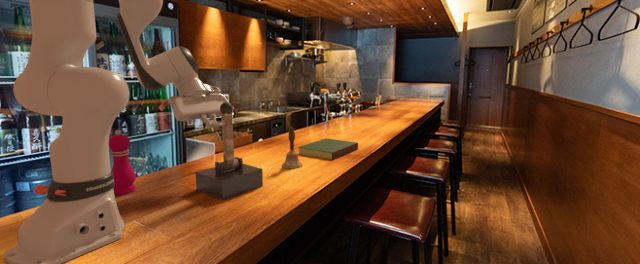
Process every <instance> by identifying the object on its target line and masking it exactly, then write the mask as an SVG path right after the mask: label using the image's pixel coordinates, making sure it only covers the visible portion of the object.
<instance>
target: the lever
mask: <svg viewBox="0 0 640 264" xmlns="http://www.w3.org/2000/svg"><path fill="white" fill-rule="evenodd" d="M220 111H221V116H220V117H221V133H222V154H223V156H222V157H223V161H222V162H221V161H220V163H223V170H224V171H227V170H230V169H234V168H238V167H239V161H238V159H234V157H235V148H234V147H235V145H234V126H233V124H234V122H233V121H234V120H233V111H234V106H233V105H232V103H230V102H229V103H228V102H225V103H223V104H222V105H221V106H220Z"/></svg>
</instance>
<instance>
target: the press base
mask: <svg viewBox="0 0 640 264" xmlns="http://www.w3.org/2000/svg"><path fill="white" fill-rule="evenodd" d="M234 159H238V161H239V167H238V168H234V169H230V170H227V171H224V170H223V163H220V162H221V161H220V162H219V161H215V162H214V166H213V167H210V168H205V169H202V170H198V171H195V186H196V191H198V192H201V193H204V194H206V195H210V196H212V197H214V198H217V199H220V200H221V201H224V200H227V199H230V198H233V197H235V196H238V195H241V194H243V193H247V192H249V191H253V190H256V189H258V188H261V187H263V186H264V183H263V181H264V179H263V176H264V175H263V168H262V167H261V168H260V167H256V166H253V165H250V164H246V163H243V158H241V157H239V156H234Z"/></svg>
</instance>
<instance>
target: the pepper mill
mask: <svg viewBox="0 0 640 264" xmlns="http://www.w3.org/2000/svg"><path fill="white" fill-rule="evenodd" d="M130 146H131V140H130V138H129V137H128V136H127V135H124V134H122V131H121V130H120V129H116V130H115V131H114V135H113V136H111V137H109V150H111V151H110V156H111V157H112V168H111V171H112V172H113V176H114V184H115V186H114V189H113V190H114V195H118V196H123V195H127V194H131V193H134V192H135V191H136V185H135V181H136V180H137V179H136V177H137V176H136V173H135V171H134V169H133V167H132V165H131V164H130V160H129V154H130V149H129V148H130Z"/></svg>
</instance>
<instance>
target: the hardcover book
mask: <svg viewBox="0 0 640 264" xmlns="http://www.w3.org/2000/svg"><path fill="white" fill-rule="evenodd" d="M297 148H298V155H304V156H310V157H315V158H316V157H317V158H321V159H327V160H332V161H333V160H335V159H338V158H340V157H342V156H345V155H347V154H350V153H352V152H354V151H356V150H359V142H356V141H349V140H341V139H332V138H322V139H319V140H317V141H316V140H315V141H313V142H309V143H307V144H303V145H300V146H298V147H297Z"/></svg>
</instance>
